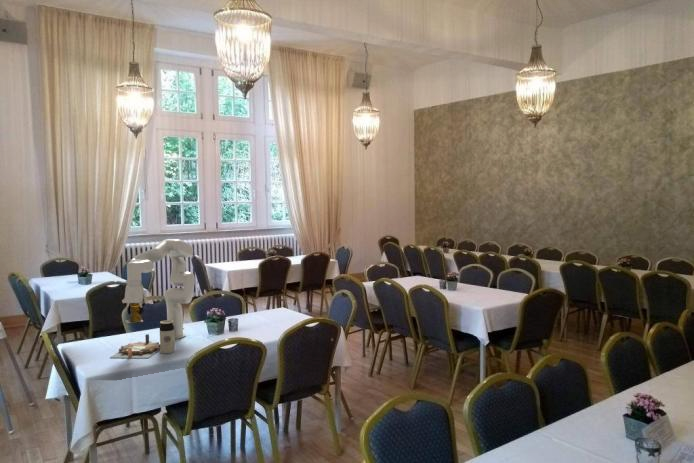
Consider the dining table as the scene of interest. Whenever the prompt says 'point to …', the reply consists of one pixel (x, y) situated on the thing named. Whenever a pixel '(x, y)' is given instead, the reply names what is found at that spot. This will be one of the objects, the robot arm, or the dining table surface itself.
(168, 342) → the travel mug
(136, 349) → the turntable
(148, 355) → the turntable base
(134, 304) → the condiment
